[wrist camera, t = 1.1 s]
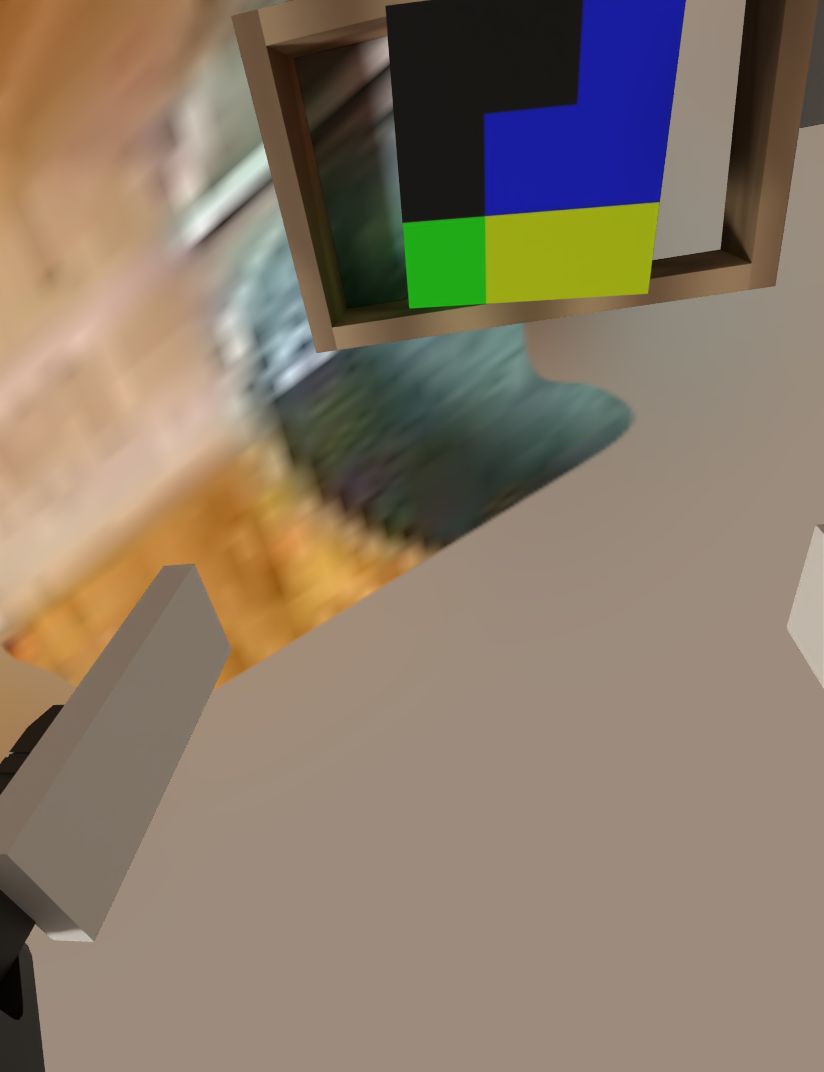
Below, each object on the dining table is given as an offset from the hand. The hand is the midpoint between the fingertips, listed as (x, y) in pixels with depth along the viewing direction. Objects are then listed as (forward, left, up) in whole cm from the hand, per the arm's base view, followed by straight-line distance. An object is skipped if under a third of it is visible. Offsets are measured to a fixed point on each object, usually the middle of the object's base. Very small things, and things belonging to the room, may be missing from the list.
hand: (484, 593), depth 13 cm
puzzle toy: (-7, +3, -27) cm, 28 cm away
